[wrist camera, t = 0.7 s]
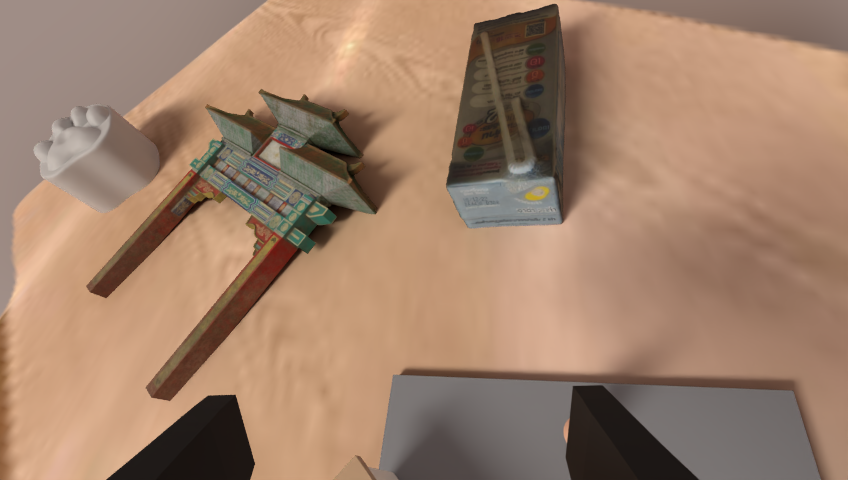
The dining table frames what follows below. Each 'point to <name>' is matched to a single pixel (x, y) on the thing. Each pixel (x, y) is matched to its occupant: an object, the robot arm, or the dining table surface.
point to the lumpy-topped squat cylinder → (97, 157)
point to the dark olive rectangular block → (511, 123)
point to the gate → (363, 472)
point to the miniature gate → (250, 211)
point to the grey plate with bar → (549, 421)
